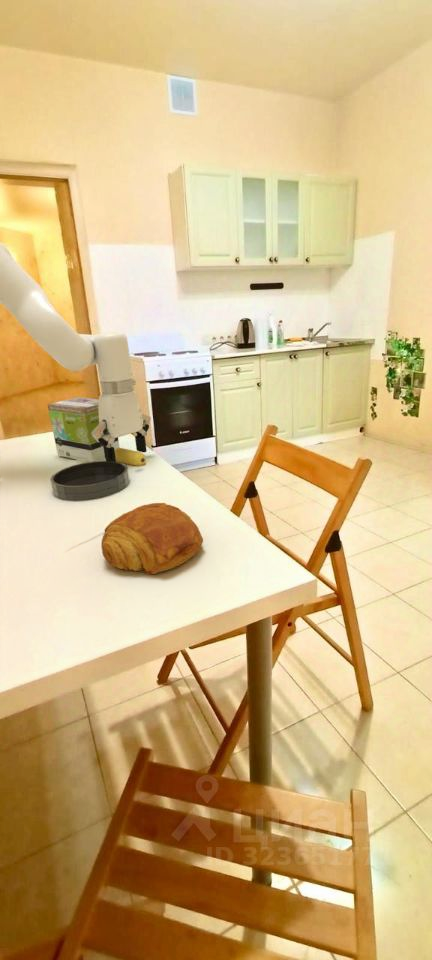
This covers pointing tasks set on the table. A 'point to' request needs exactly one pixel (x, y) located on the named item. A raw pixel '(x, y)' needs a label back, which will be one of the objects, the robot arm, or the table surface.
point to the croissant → (151, 539)
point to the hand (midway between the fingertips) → (126, 456)
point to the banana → (129, 457)
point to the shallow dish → (90, 480)
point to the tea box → (77, 429)
